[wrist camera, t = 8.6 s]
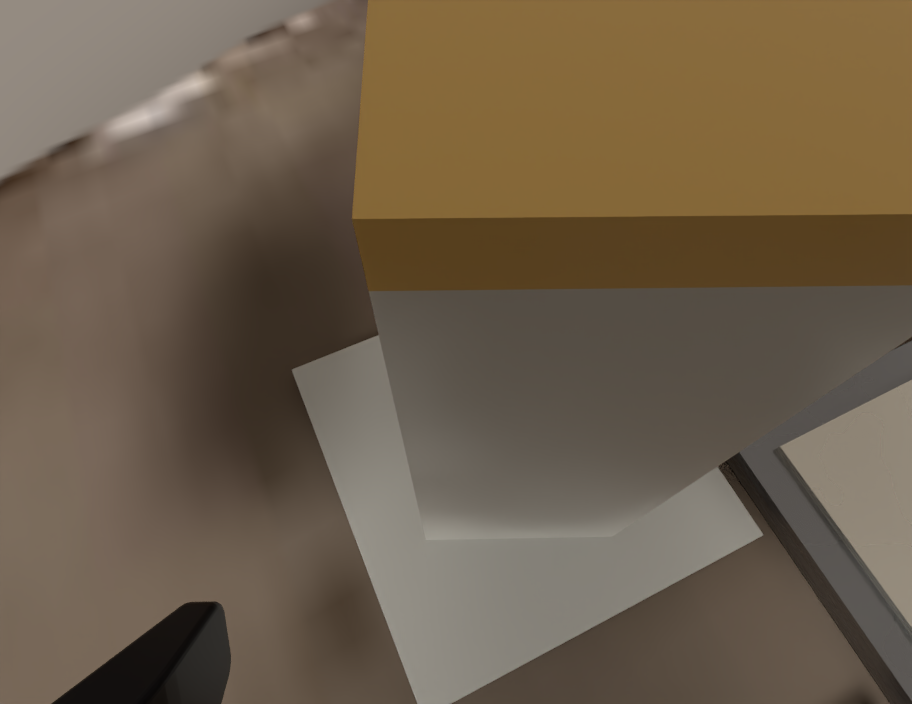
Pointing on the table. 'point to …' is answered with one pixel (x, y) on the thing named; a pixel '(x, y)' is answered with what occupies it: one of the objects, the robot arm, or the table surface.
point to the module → (624, 239)
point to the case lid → (489, 546)
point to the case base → (849, 509)
